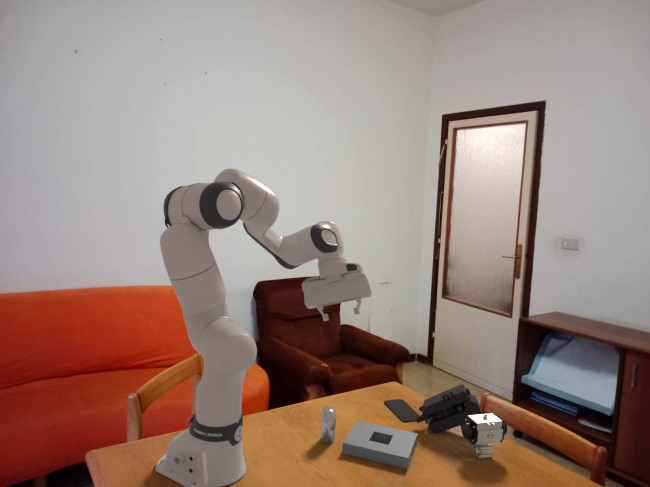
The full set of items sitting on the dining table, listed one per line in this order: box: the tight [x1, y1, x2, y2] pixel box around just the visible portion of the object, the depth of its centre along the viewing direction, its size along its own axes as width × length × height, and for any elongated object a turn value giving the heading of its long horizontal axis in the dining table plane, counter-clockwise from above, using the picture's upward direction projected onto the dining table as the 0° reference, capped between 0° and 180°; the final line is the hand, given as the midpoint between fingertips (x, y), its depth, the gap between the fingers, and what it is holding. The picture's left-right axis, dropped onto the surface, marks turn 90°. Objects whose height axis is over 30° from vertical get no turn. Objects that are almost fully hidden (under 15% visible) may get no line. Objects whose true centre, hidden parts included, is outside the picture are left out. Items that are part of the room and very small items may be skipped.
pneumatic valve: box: [460, 412, 508, 460], centre depth 131 cm, size 6×12×12 cm, turn 105°
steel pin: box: [320, 406, 337, 444], centre depth 137 cm, size 4×4×9 cm
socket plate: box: [341, 420, 418, 470], centre depth 134 cm, size 18×14×3 cm
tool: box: [415, 383, 483, 435], centre depth 144 cm, size 6×19×15 cm, turn 78°
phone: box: [383, 398, 421, 423], centre depth 158 cm, size 7×1×15 cm
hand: (341, 317), depth 141 cm, fingers open, 8 cm apart
